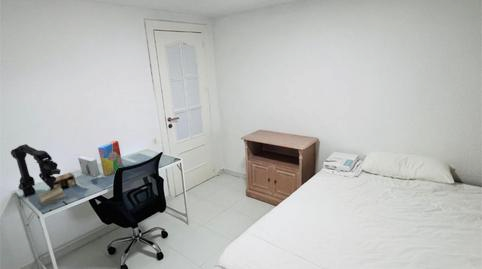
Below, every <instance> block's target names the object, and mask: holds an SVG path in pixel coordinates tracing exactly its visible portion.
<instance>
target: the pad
mask: <svg viewBox="0 0 482 269" xmlns="http://www.w3.org/2000/svg"><path fill="white" fill-rule="evenodd" d="M63 194H64V196H63V197H60V198H57V199H55V200H52V201H49V202H46V203H43V204H42V203H41V201H39V203H40V205H41V206H42V205H43V206H45V204H46V205H48V204H51V203H53V202H57V201H58V200H59V201H60V200H61V199H64V198H66V197H68V195H67V194H66V193H65V192H63Z"/></svg>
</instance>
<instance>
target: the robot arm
mask: <svg viewBox="0 0 482 269" xmlns="http://www.w3.org/2000/svg"><path fill="white" fill-rule="evenodd" d="M10 155H11V156H12V158H13V159H15V160H16V163H17V167H18V170H19V173H20V179H19V184H18V190H20V191H22V193H23V196H24V197H25V198H26V197H29V196H32V195H33V196H34V195H35V194H36V190H35V187H34V186H35V184H36V183H35V178H34V177H33V176H31V175H30V173H29V168H28V164H27V162H26V157H27V155H29V156H32V157H33V160H35V161H36V164H38V167H39V171H40V173H39V174H38V176H39V178H40V179H41V180H42V181H43V183H45V184H46V185H47V186H48V187H49V188H50V190H51V189H53V185H54V182H55V181H56V177H57V176H54V175H61V171H62V170H61V169H59V168H58V163H57V162H56V161H55V162H54V160H53V157H52V156H51V155H50V154H49V153H48V152H47V151H45V150H43V149H42V150H38V149H35V147H32V146H30V145H28V143H27V144H22V145H19V146H17V147H15V148H13V149H11V150H10Z"/></svg>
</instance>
